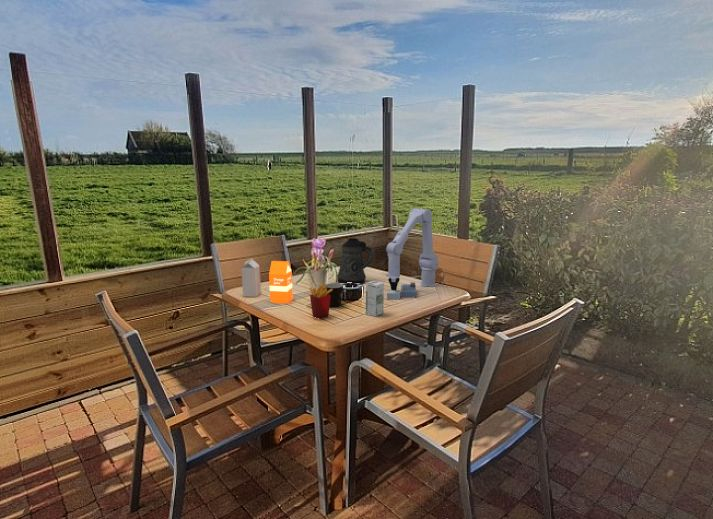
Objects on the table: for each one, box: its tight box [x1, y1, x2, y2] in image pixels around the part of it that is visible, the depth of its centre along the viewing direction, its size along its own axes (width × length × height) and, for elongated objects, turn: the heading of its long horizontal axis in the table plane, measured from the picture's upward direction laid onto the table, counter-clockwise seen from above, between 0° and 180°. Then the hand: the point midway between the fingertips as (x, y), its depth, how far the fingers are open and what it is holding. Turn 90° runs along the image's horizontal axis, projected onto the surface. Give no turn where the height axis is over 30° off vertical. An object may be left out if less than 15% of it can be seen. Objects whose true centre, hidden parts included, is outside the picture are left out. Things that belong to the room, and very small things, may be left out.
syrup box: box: [365, 280, 385, 317], centre depth 186 cm, size 6×6×14 cm
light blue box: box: [386, 289, 401, 300], centre depth 212 cm, size 6×6×3 cm
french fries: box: [309, 283, 333, 320], centre depth 183 cm, size 9×8×15 cm
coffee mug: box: [325, 282, 344, 309], centre depth 200 cm, size 12×9×10 cm
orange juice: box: [268, 260, 294, 304], centre depth 206 cm, size 8×9×20 cm
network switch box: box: [400, 282, 417, 298], centre depth 218 cm, size 14×8×4 cm, turn 173°
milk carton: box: [240, 257, 262, 298], centre depth 216 cm, size 7×7×19 cm
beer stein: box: [336, 237, 374, 285], centre depth 241 cm, size 16×19×25 cm
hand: (393, 292), depth 215 cm, fingers closed
